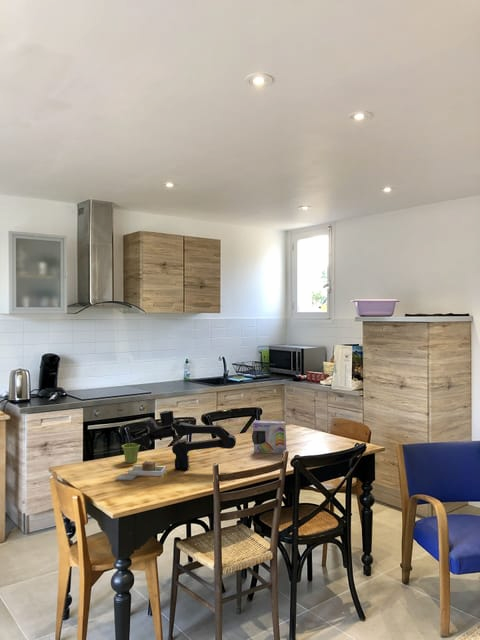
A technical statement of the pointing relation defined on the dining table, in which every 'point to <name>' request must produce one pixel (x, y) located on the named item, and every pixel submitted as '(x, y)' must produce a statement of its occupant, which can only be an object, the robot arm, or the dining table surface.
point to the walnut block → (148, 466)
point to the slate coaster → (126, 477)
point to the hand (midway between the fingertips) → (133, 438)
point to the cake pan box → (269, 436)
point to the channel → (158, 471)
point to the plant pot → (131, 452)
